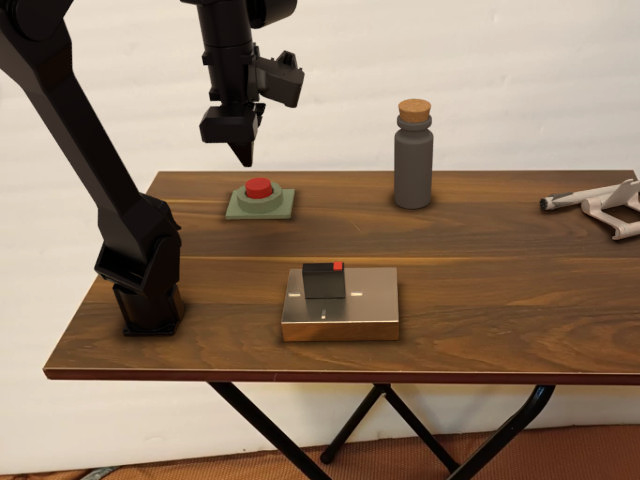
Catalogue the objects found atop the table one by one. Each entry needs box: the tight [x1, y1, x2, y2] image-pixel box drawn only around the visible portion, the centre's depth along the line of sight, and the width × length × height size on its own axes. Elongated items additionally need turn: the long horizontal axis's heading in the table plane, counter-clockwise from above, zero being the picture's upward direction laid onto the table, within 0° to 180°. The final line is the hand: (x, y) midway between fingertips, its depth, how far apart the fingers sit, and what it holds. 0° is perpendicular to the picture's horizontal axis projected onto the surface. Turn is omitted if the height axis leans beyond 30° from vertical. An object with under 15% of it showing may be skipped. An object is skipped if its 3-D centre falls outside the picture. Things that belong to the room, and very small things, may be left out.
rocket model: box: [538, 180, 640, 211], centre depth 99 cm, size 2×2×30 cm
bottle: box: [393, 98, 435, 210], centre depth 95 cm, size 6×6×15 cm
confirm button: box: [244, 177, 272, 199], centre depth 98 cm, size 4×4×2 cm
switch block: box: [224, 181, 296, 220], centre depth 99 cm, size 10×8×2 cm
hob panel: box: [280, 266, 400, 342], centre depth 80 cm, size 14×11×3 cm
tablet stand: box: [580, 178, 640, 241], centre depth 94 cm, size 9×8×8 cm
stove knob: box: [301, 260, 346, 298], centre depth 77 cm, size 5×2×4 cm, turn 90°
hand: (248, 166), depth 85 cm, fingers closed
